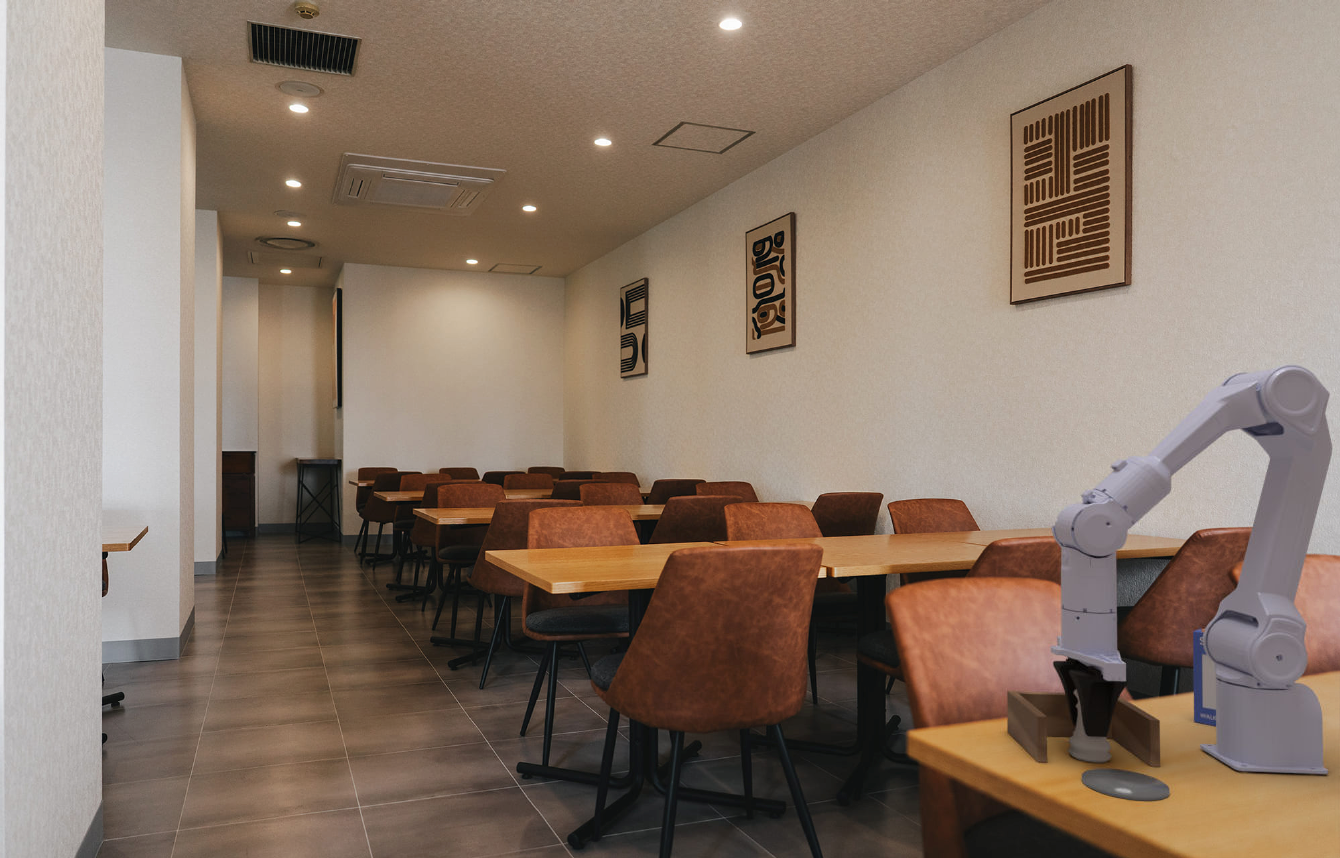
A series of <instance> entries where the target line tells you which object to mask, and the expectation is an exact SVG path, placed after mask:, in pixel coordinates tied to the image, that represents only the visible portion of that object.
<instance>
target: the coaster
mask: <svg viewBox="0 0 1340 858" xmlns="http://www.w3.org/2000/svg"><path fill="white" fill-rule="evenodd" d="M1081 782H1082V783H1083V785H1085V786H1086V787H1088V788H1089V789H1091V790H1093V791H1095V792H1097V793H1099V794H1103V795H1107V796H1110V797H1115V798H1118V799H1124V800H1131V801H1144V802H1148V801H1149V802H1150V801H1159V800H1160V801H1161V800H1164V799H1167V798H1168V797H1169V796H1170V787H1169V785H1168V784H1167V783H1165V782H1164V781H1162V780H1160V779H1158V778H1155V777H1153V776H1151V775H1148V774H1144V773H1141V772H1140V773H1139V772H1137V771H1131V770H1126V769H1125V770H1124V769H1117V768H1092V769H1087V770H1086V771H1083V772H1082V773H1081Z"/></svg>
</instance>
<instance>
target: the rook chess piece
mask: <svg viewBox="0 0 1340 858" xmlns="http://www.w3.org/2000/svg"><path fill="white" fill-rule="evenodd" d="M1074 694H1075V696H1076V697H1077V699H1078V704H1077V705H1076V707H1077V709H1078V717H1077V724H1076V728H1075V731H1074V732H1073V736H1072V737H1069V740H1068V744H1069V745H1070V747H1068V749H1067V751H1068V753H1069V754H1070V755H1071V756H1072V758H1074V759H1076V760H1078V761H1083V762H1085V763H1086V762H1087V763H1093V764H1094V763H1095V764H1096V763H1097V764H1101V763H1107V762H1109V761H1110V759H1111V758H1112V757H1113V756H1112V754H1111V753H1110V750H1111V749H1112V748H1111V744H1110V742H1109V741H1108V739H1107V738H1106V737H1090V736H1087V735H1086V734H1085V731H1084V727H1083V722H1082V714H1081V706H1080V701H1079V696H1078V693H1077V689H1076V690H1075V691H1074Z"/></svg>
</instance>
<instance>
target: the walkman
mask: <svg viewBox="0 0 1340 858" xmlns="http://www.w3.org/2000/svg"><path fill="white" fill-rule="evenodd" d="M1204 631H1205V628H1198V629H1196V630H1193V631H1192V649H1193V652H1192V653H1193V656H1192V657H1193V658H1192V659H1193V660H1192V661H1193V663H1192V664H1193V665H1192V667H1193V723H1197V724H1198V723H1199V724H1204V725H1209V726H1213V727H1216V673H1215V663H1214V662H1213V661H1212V660H1211V659H1210V658H1209V657H1208V656H1207V654H1206V652H1205V650H1204V647H1203V634H1204Z"/></svg>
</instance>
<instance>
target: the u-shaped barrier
mask: <svg viewBox="0 0 1340 858" xmlns="http://www.w3.org/2000/svg"><path fill="white" fill-rule="evenodd" d="M1006 697H1007V699H1006V701H1007V702H1006V703H1007V705H1006V708H1007V710H1006V711H1007V716H1006V717H1007V734H1009V735H1010V736H1011V737H1012V738H1013V740H1015V741H1016V742H1017V743H1018V744H1019V746H1021V747H1022V748H1023V750H1024V751H1026V752H1027V753H1028V754H1029V755H1030V756H1031V757H1032V758H1033V759H1034V760H1035V761H1036V762H1037V763H1045V764H1046V763H1048V737H1063V738H1064V737H1065V738H1067V737H1068V738H1070V737H1072V736H1073V732H1074V731H1075V728H1076V726H1074V725H1073V723H1072V720H1071V716H1070V712H1069V707H1068V703H1067V698H1066V694H1065V692H1051V691H1050V692H1049V691H1047V692H1046V691H1019V690H1018V691H1015V690H1014V691H1013V690H1007V696H1006ZM1160 722H1161V721H1160V720H1159V719H1158V718H1157V717H1155V716H1153V715H1151V714H1150V713H1148V712H1146V711H1145V710H1143V709H1142V708H1140V707H1138V706H1136V705H1135V704H1133V703H1132V702H1129V701H1128V700H1127V699H1125V698H1123V697H1121V695H1120V696H1119V698H1118V700H1117V703H1116V705H1115V708H1114V712H1113V715H1112V719H1111V723H1110V727H1109V731H1108V734H1107V737H1106V739H1112V740H1113V741H1115V742H1116V743H1118V744H1119V745H1120V746H1122V747H1123V748H1124V749H1126V750H1127V751H1129V752H1130V753H1132V754H1133V755H1134V756H1135V757H1137V758H1138V759H1140V760H1142V762H1144V763H1145V764H1146V765H1148V766H1150V767H1152V768H1153V767H1154V768H1155V767H1157V768H1160V767H1161V723H1160Z"/></svg>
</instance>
